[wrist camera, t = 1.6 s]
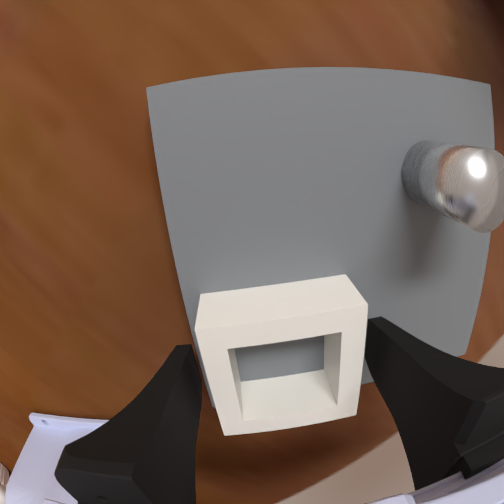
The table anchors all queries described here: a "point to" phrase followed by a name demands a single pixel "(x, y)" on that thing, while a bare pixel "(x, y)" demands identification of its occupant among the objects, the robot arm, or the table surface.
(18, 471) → the robot arm
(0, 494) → the white rounded jar shape
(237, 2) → the table surface
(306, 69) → the board
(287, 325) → the collar
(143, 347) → the table surface
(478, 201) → the post
